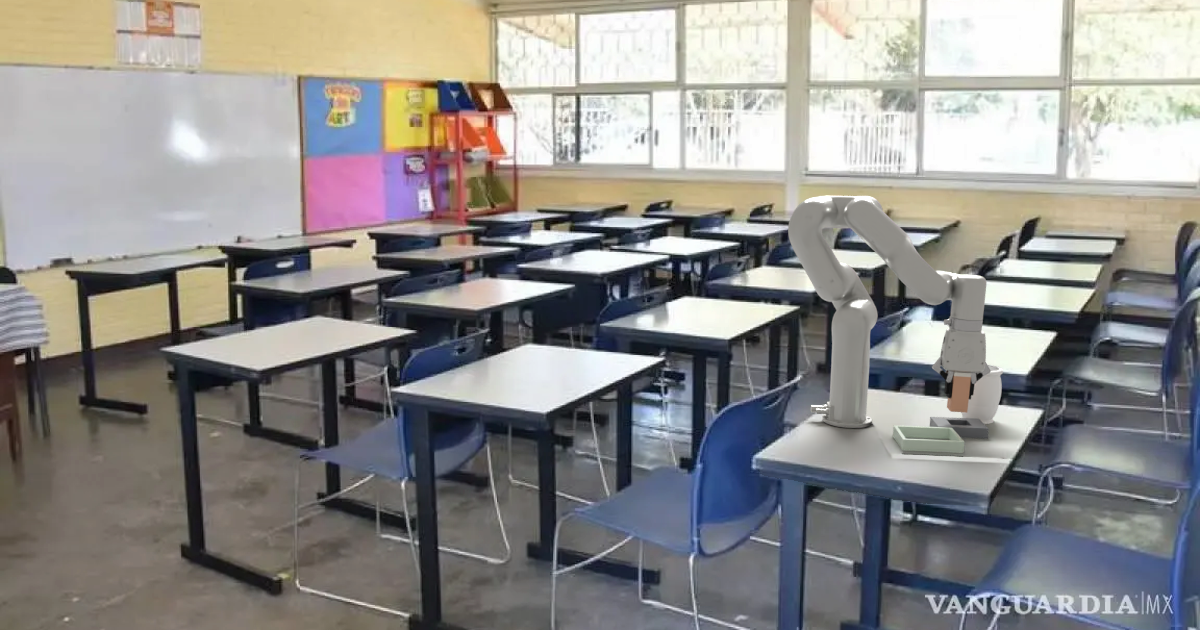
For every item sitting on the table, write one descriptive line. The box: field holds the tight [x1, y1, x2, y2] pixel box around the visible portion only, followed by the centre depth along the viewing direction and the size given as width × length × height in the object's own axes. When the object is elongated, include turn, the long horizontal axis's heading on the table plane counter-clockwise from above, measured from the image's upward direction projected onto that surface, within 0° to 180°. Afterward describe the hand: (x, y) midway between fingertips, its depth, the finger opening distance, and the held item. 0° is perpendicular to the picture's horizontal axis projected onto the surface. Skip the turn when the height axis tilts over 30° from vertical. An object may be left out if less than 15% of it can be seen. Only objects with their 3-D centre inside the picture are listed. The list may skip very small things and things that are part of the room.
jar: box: [960, 364, 1004, 425], centre depth 269 cm, size 11×10×15 cm
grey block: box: [929, 416, 990, 439], centre depth 258 cm, size 12×9×4 cm
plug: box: [946, 371, 971, 413], centre depth 256 cm, size 4×4×10 cm
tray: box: [892, 425, 965, 458], centre depth 247 cm, size 14×12×4 cm
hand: (958, 396), depth 257 cm, fingers closed on plug, 4 cm apart
